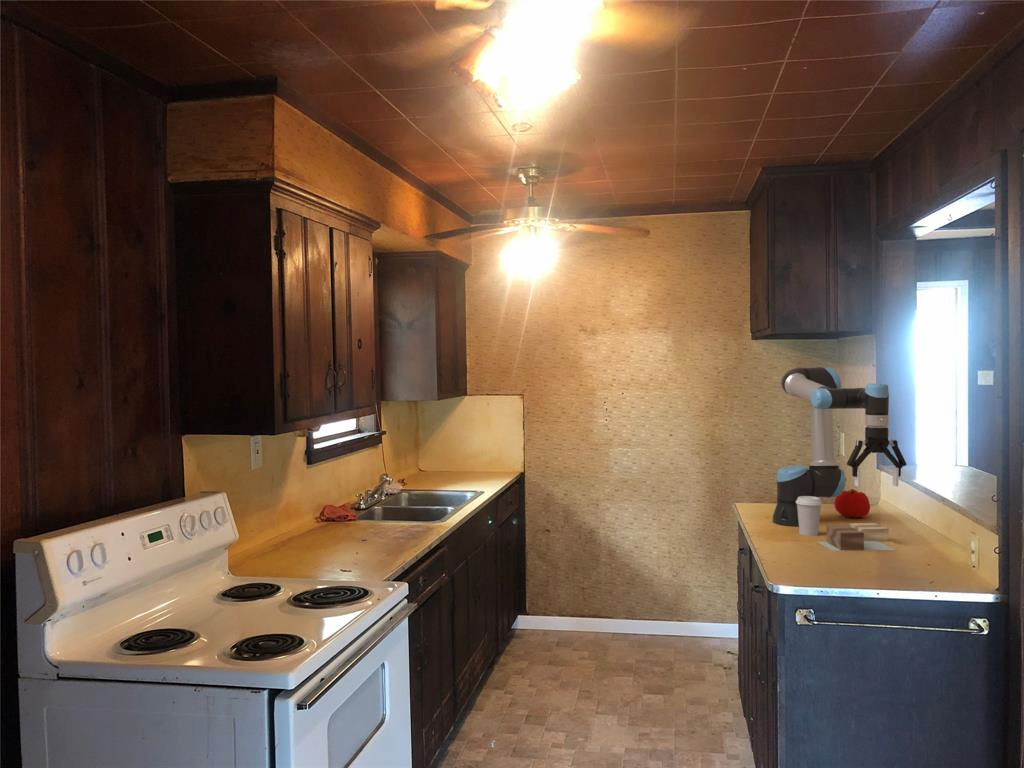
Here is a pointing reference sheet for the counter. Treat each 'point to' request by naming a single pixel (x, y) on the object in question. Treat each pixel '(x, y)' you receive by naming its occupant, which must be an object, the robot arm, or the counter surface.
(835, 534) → the walnut base brick
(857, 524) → the oak brick
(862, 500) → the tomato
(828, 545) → the board
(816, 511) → the coffee cup
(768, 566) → the counter surface
